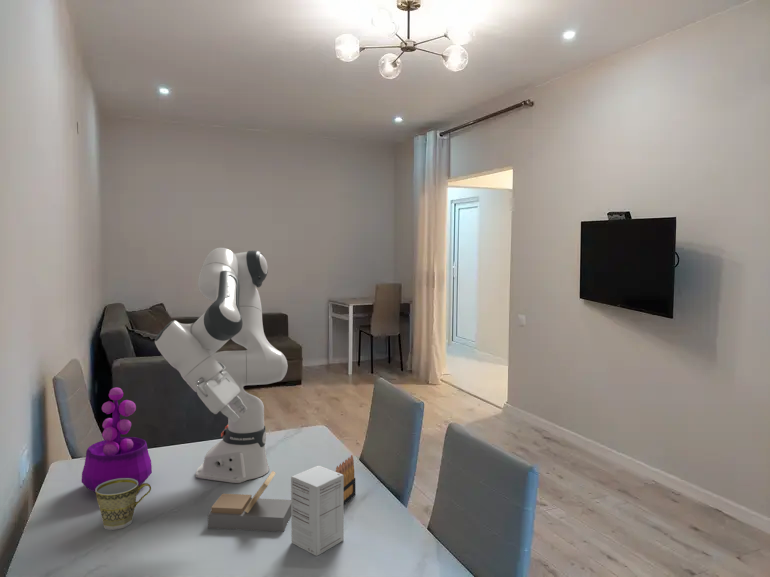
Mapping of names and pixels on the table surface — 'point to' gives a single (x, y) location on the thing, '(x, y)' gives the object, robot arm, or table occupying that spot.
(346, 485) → the ammunition clip
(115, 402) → the decorative plant
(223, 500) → the floor base
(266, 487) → the oak plank
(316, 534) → the supplement box
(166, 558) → the table surface
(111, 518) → the ceramic cup
